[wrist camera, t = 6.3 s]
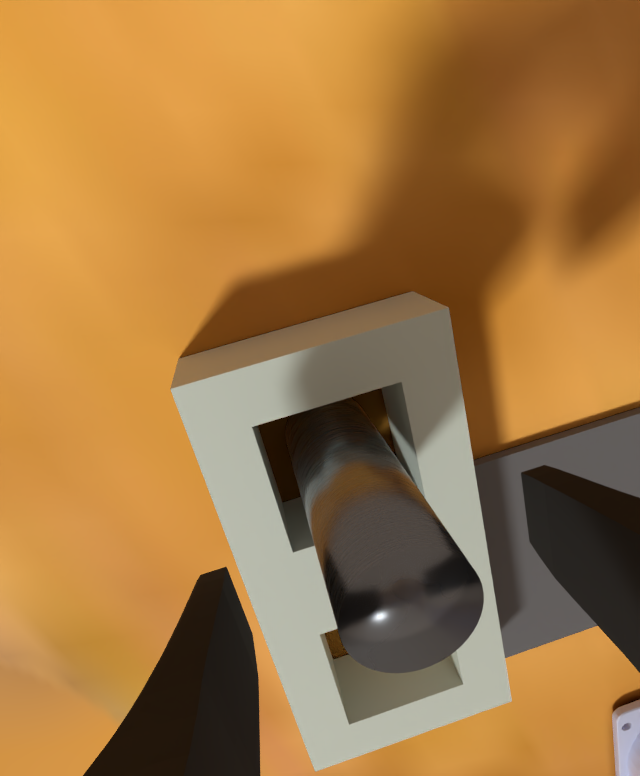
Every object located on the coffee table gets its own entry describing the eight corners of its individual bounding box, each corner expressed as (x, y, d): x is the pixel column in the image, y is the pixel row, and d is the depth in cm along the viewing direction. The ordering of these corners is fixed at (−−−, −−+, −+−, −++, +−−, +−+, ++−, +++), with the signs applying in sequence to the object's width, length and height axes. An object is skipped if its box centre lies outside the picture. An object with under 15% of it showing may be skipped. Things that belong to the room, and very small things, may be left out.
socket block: (477, 642, 23) (511, 701, 21) (303, 702, 23) (315, 771, 20) (412, 291, 18) (448, 307, 15) (178, 358, 17) (170, 389, 14)
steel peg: (378, 450, 19) (497, 637, 11) (302, 481, 19) (364, 694, 11) (353, 379, 18) (465, 526, 10) (272, 411, 18) (317, 587, 10)
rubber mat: (700, 580, 25) (707, 586, 24) (500, 650, 24) (505, 658, 24) (704, 386, 21) (713, 389, 21) (469, 461, 20) (474, 466, 20)
